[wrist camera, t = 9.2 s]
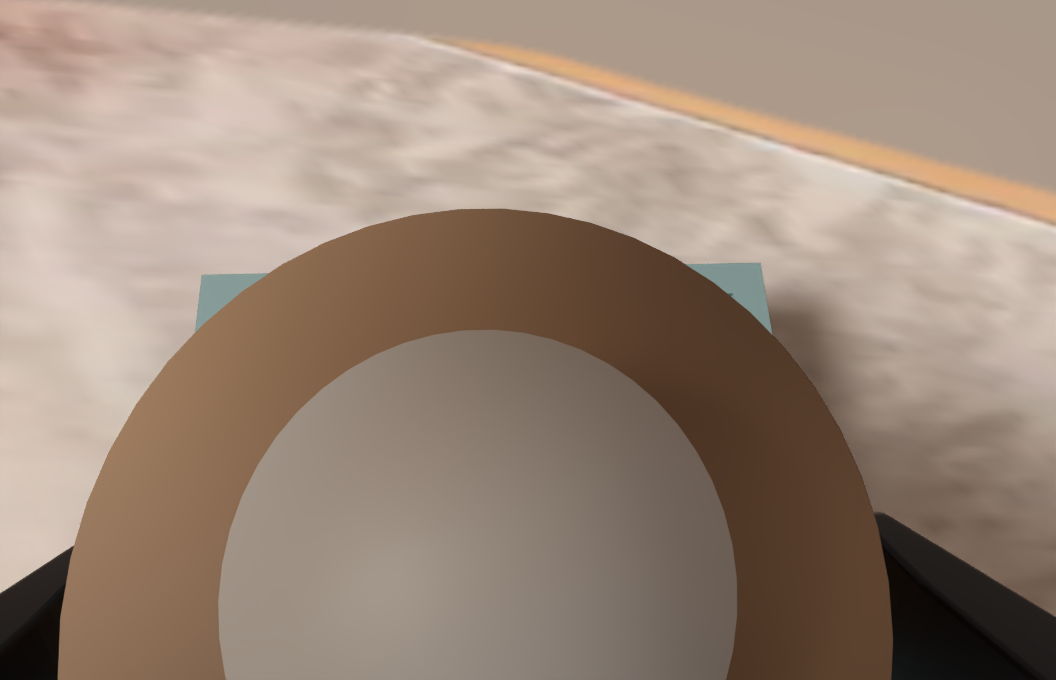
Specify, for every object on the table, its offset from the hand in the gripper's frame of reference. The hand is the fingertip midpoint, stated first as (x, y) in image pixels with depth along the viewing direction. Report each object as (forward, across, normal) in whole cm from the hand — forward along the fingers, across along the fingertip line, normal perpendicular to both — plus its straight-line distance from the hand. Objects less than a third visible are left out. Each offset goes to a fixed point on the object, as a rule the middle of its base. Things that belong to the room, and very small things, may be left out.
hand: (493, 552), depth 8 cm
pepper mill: (+6, 0, +6) cm, 9 cm away
